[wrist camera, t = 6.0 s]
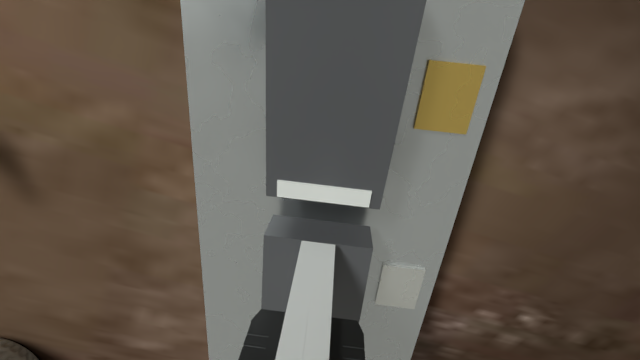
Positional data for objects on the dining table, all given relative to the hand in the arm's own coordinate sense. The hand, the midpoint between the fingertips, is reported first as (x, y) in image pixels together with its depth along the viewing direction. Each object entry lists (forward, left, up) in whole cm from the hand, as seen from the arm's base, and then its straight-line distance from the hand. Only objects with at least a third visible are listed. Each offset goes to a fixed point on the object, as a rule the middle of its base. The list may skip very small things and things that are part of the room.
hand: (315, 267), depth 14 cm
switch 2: (+3, 0, -1) cm, 4 cm away
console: (+3, 0, -8) cm, 9 cm away
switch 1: (-8, 0, -1) cm, 8 cm away
